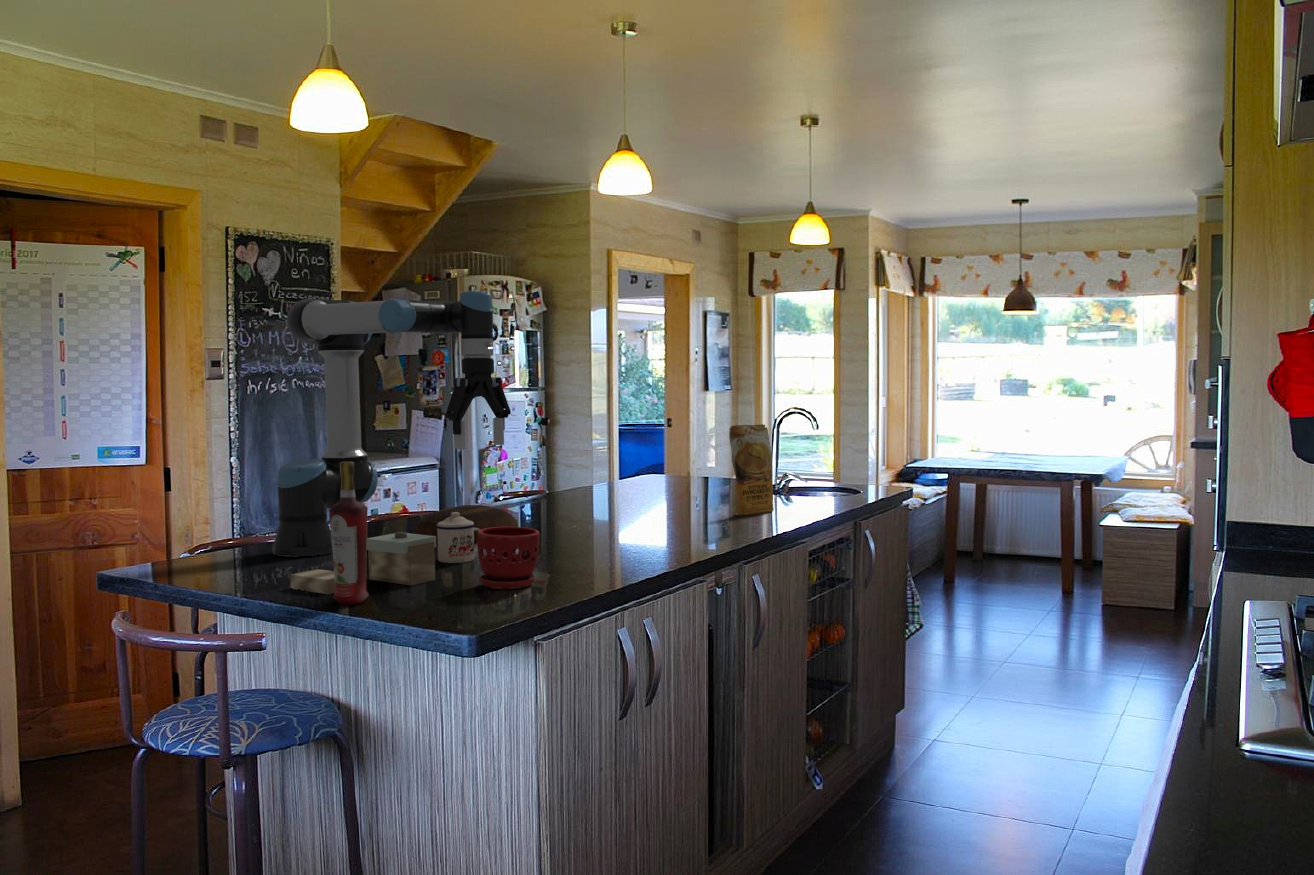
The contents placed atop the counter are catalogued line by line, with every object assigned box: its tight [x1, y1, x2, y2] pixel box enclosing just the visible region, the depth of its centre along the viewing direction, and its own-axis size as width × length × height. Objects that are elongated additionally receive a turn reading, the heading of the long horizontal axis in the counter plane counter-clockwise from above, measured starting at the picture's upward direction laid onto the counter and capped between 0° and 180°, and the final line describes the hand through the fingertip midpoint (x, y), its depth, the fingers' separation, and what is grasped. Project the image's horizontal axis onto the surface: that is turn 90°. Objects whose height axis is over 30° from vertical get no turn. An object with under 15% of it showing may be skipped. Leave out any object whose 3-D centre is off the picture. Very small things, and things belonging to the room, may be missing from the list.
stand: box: [289, 568, 335, 595], centre depth 222 cm, size 12×7×3 cm, turn 57°
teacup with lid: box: [436, 512, 480, 564], centre depth 254 cm, size 12×9×12 cm
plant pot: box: [477, 526, 541, 590], centre depth 222 cm, size 13×13×12 cm
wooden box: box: [367, 541, 436, 586], centre depth 230 cm, size 13×7×8 cm, turn 57°
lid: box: [367, 531, 437, 554], centre depth 230 cm, size 11×10×3 cm
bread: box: [414, 504, 520, 544], centre depth 291 cm, size 28×27×9 cm
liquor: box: [328, 462, 370, 606], centre depth 207 cm, size 7×7×28 cm
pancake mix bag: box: [728, 423, 774, 516], centre depth 329 cm, size 7×19×28 cm, turn 128°
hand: (479, 446), depth 249 cm, fingers open, 13 cm apart
